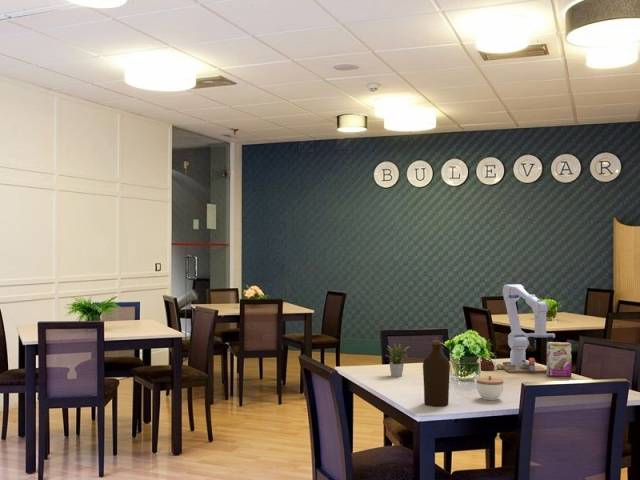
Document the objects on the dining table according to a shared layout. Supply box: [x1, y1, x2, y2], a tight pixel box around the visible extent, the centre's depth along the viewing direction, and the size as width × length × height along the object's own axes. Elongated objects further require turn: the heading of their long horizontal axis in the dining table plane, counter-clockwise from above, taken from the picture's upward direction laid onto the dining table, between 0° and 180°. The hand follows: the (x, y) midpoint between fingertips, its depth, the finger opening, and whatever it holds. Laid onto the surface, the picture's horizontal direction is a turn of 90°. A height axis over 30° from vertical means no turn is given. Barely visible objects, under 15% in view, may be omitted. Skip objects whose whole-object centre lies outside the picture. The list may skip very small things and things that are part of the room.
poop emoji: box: [481, 358, 497, 372], centre depth 367 cm, size 10×8×9 cm
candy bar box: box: [546, 341, 573, 378], centre depth 348 cm, size 11×5×16 cm, turn 84°
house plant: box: [384, 342, 411, 378], centre depth 344 cm, size 14×14×16 cm
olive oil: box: [422, 339, 451, 407], centre depth 279 cm, size 11×11×25 cm
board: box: [501, 361, 547, 374], centre depth 364 cm, size 15×20×4 cm
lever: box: [520, 357, 536, 371], centre depth 362 cm, size 16×5×6 cm, turn 1°
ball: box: [496, 363, 503, 370], centre depth 367 cm, size 3×3×3 cm
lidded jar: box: [476, 375, 504, 401], centre depth 290 cm, size 11×11×9 cm
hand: (540, 351), depth 364 cm, fingers open, 7 cm apart
